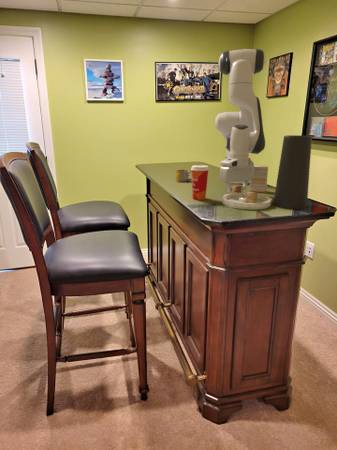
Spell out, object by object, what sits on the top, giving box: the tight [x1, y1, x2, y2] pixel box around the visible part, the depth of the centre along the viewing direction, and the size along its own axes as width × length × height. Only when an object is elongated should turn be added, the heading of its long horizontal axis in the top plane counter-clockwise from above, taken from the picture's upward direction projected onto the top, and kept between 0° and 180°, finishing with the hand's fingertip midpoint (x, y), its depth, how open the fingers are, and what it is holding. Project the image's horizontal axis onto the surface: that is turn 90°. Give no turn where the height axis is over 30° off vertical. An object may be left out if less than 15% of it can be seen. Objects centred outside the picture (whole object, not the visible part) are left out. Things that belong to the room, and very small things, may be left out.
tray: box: [220, 192, 273, 211], centre depth 147 cm, size 21×21×2 cm
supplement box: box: [249, 164, 269, 194], centre depth 170 cm, size 8×5×13 cm, turn 71°
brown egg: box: [231, 184, 243, 193], centre depth 160 cm, size 4×4×5 cm
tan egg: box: [246, 191, 258, 203], centre depth 141 cm, size 4×4×5 cm
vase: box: [272, 134, 313, 210], centre depth 140 cm, size 14×14×29 cm
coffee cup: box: [190, 164, 210, 201], centre depth 154 cm, size 8×8×15 cm
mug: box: [175, 169, 192, 183], centre depth 199 cm, size 12×7×7 cm, turn 96°
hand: (236, 190), depth 160 cm, fingers open, 8 cm apart
